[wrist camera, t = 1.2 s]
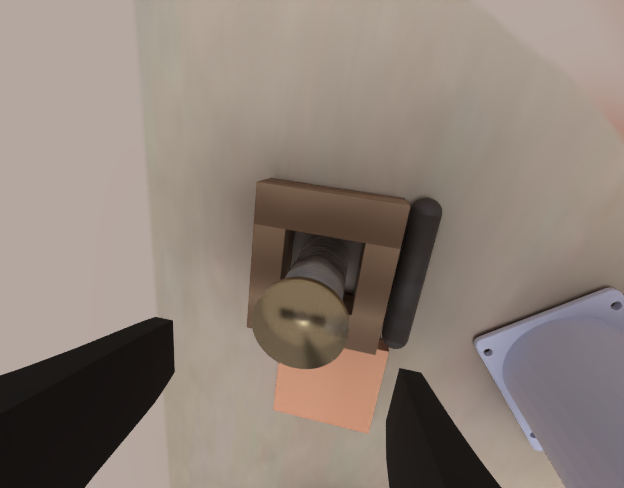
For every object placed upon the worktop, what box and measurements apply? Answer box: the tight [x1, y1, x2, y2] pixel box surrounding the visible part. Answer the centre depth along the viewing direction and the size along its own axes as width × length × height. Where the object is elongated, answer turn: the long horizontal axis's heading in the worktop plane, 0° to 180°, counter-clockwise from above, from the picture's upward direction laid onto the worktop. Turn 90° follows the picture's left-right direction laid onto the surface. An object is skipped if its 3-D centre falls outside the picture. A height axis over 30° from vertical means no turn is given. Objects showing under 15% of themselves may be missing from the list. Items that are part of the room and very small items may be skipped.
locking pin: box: [252, 236, 349, 369], centre depth 15 cm, size 4×4×8 cm
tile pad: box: [273, 339, 389, 433], centre depth 21 cm, size 7×7×1 cm
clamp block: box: [247, 178, 442, 355], centre depth 18 cm, size 10×10×2 cm
